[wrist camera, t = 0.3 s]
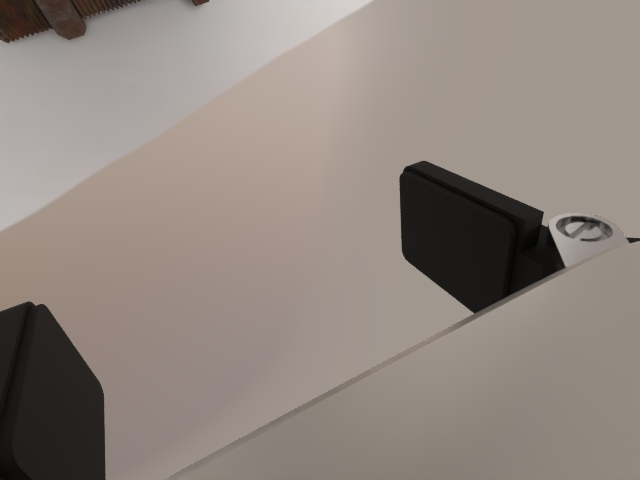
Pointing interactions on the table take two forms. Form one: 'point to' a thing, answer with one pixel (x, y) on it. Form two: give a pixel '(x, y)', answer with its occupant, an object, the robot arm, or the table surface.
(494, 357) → the robot arm
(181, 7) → the table surface
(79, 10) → the bolt
